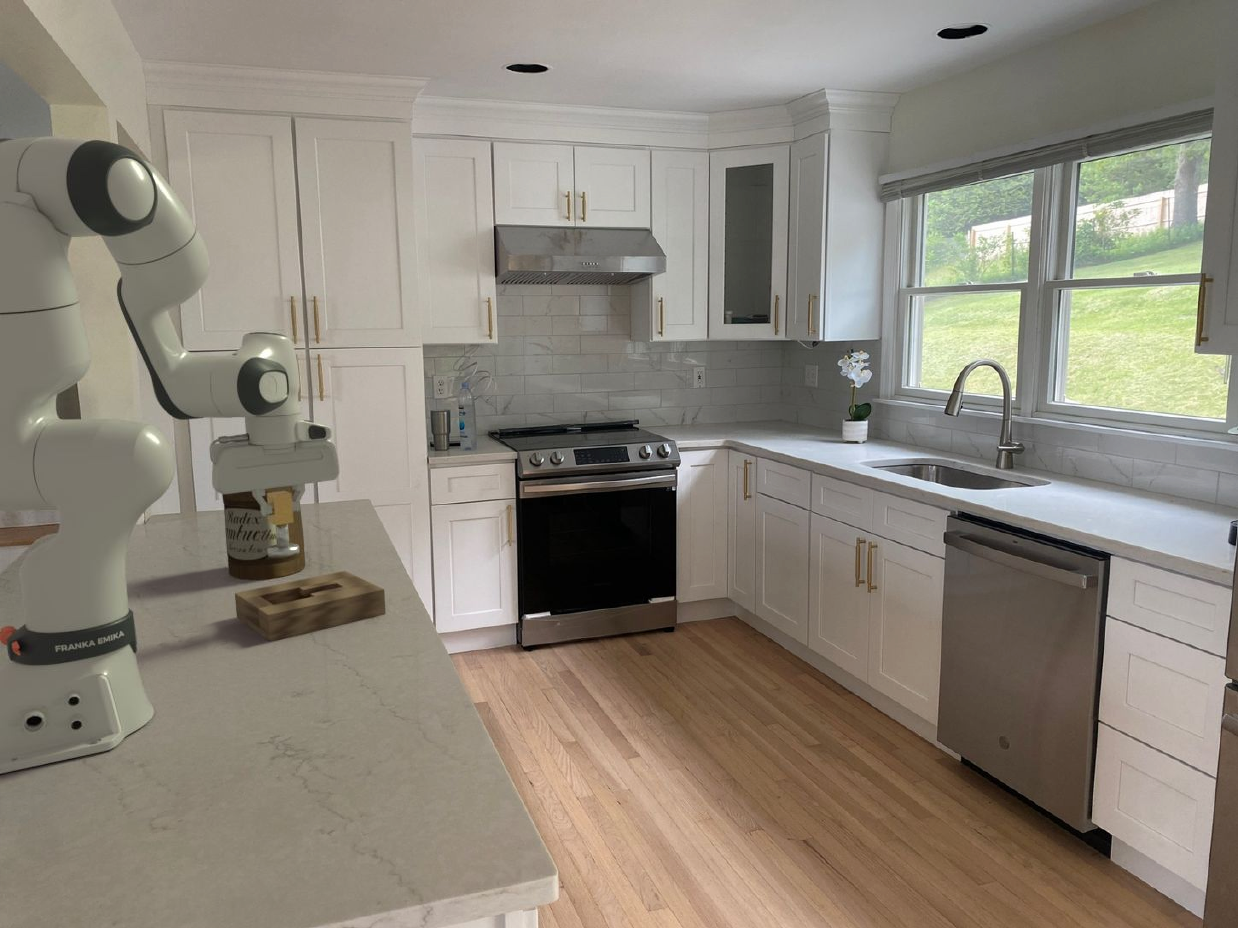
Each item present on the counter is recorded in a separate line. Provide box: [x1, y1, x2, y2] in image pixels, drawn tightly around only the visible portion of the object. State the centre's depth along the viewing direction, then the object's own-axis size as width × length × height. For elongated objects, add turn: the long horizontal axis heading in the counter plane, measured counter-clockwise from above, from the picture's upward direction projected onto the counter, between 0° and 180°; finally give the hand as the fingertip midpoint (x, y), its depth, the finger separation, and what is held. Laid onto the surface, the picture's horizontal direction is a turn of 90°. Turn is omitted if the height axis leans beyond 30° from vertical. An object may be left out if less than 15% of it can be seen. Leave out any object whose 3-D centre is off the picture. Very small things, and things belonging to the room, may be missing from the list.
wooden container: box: [221, 486, 306, 581], centre depth 181 cm, size 15×15×22 cm
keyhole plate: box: [234, 570, 387, 642], centre depth 153 cm, size 20×16×4 cm
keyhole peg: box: [267, 491, 299, 558], centre depth 148 cm, size 5×5×10 cm
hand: (280, 513), depth 148 cm, fingers closed on keyhole peg, 3 cm apart
